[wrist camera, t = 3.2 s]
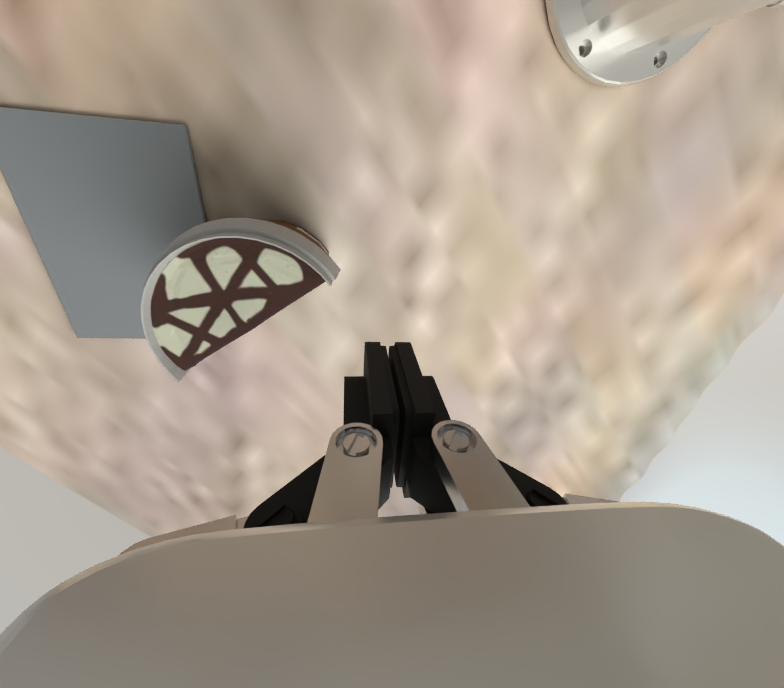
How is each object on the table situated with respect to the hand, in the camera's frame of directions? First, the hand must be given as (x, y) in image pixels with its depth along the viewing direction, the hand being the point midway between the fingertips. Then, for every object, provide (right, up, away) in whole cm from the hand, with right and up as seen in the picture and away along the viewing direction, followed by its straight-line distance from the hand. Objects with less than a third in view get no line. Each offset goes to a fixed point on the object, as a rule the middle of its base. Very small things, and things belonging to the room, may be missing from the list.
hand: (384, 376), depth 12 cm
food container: (-11, +9, +14) cm, 19 cm away
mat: (-20, +9, +12) cm, 25 cm away
